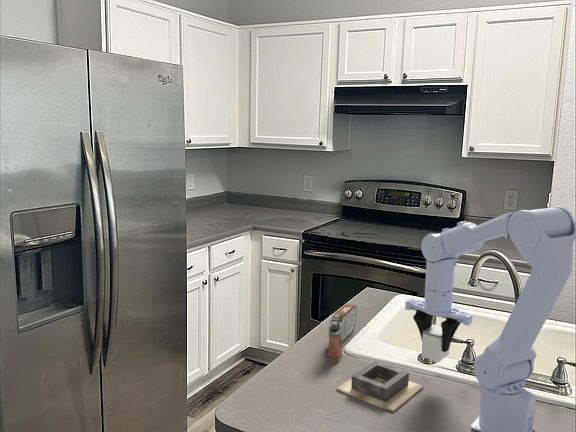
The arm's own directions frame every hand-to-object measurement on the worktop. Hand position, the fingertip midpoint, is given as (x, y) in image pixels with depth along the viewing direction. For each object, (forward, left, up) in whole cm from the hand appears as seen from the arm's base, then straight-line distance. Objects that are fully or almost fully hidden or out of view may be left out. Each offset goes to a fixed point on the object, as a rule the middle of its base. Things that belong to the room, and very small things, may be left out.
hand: (435, 347), depth 118 cm
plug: (0, 0, -2) cm, 2 cm away
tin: (+30, -8, -9) cm, 33 cm away
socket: (+8, +9, -9) cm, 15 cm away
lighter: (+25, +2, -9) cm, 27 cm away
